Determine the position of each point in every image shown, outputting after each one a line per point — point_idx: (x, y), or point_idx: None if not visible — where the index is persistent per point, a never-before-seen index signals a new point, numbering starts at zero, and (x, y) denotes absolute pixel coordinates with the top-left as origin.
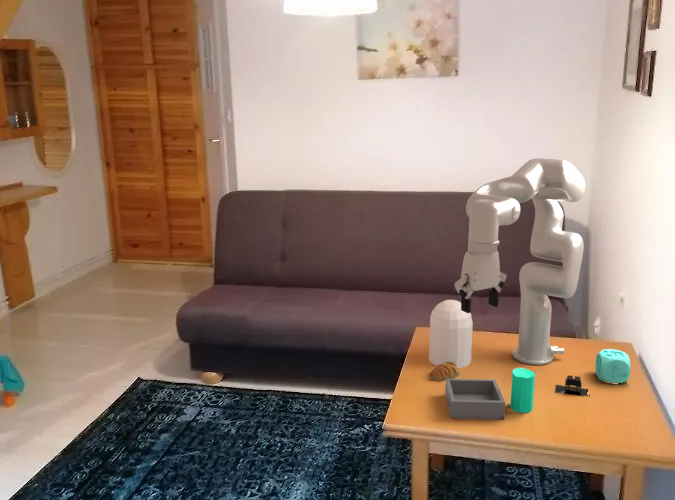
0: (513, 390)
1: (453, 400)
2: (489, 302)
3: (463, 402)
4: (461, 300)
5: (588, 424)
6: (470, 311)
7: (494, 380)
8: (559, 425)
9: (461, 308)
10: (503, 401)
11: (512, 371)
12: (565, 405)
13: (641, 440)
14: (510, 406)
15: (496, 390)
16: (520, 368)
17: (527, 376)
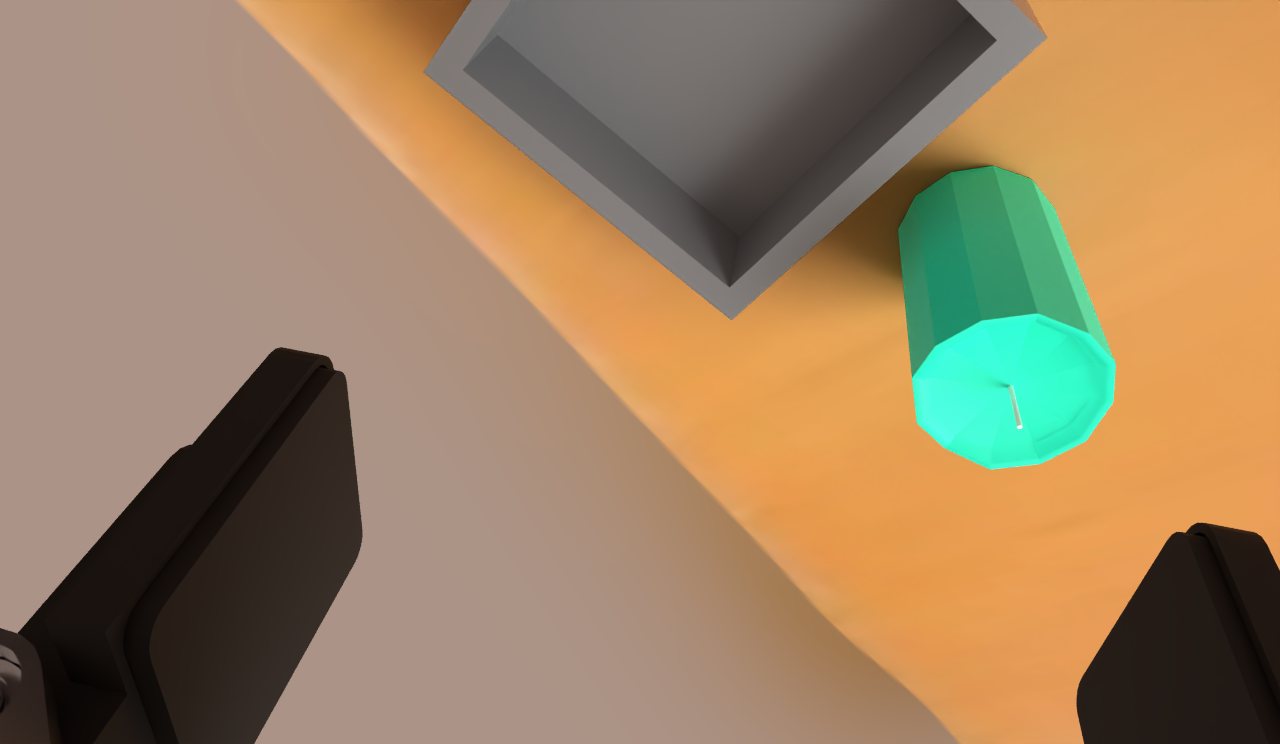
0: (915, 285)
1: (447, 71)
2: (1176, 587)
3: (500, 131)
4: (65, 586)
5: (1052, 547)
6: (347, 565)
7: (1020, 43)
8: (928, 468)
9: (265, 377)
10: (735, 306)
11: (975, 319)
12: (1217, 391)
13: (1062, 714)
14: (931, 187)
15: (850, 175)
16: (1079, 340)
17: (989, 423)
